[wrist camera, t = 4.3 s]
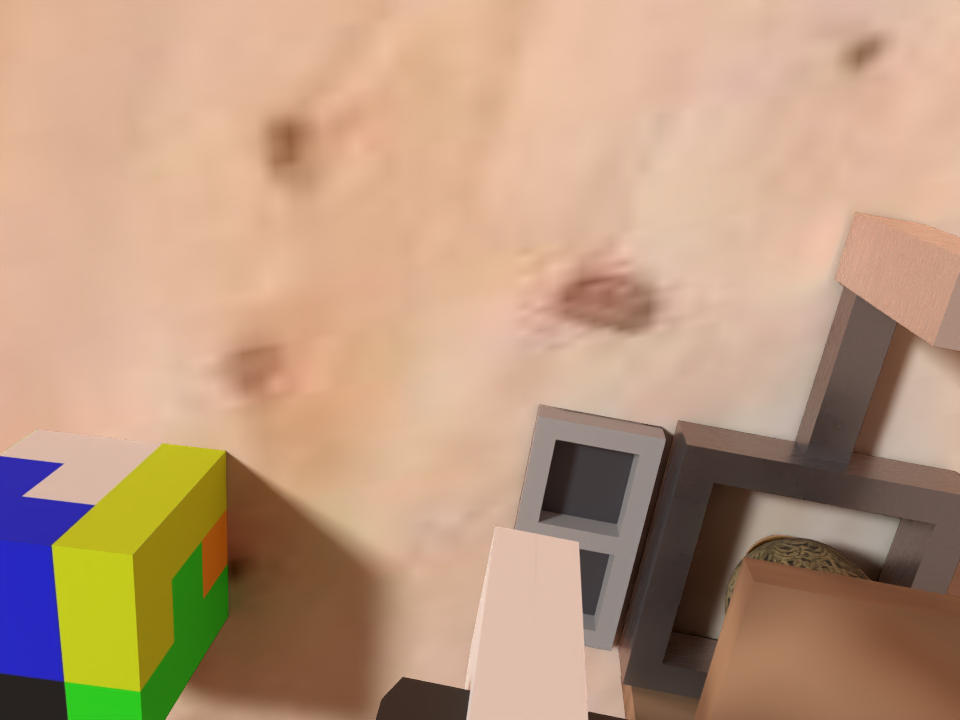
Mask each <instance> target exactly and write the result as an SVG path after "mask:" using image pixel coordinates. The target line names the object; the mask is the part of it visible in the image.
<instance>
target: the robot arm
mask: <svg viewBox="0 0 960 720" xmlns="http://www.w3.org/2000/svg"><path fill="white" fill-rule="evenodd" d="M376 720H628V719H622V718H617V717H612V716H607V715H602V714H597V713H592V712H588V707H587V688H586V668H585V649H584V630H583V611H582V592H581V573H580V554H579V542H576V541H571V540H566V539H561V538H556V537H551V536H546V535H540V534H535V533H530V532H525V531H520V530H515V529H510V528H504V527H499V526H495V529H494V534H493V539H492V544H491V549H490V555H489V560H488V565H487V570H486V575H485V580H484V585H483V590H482V595H481V600H480V605H479V610H478V615H477V620H476V625H475V630H474V635H473V640H472V645H471V650H470V656H469V662H468V669H467V676H466V683H465V689H460V688H455V687H450V686H445V685H440V684H435V683H430V682H425V681H420V680H415V679H410V678H405V677H402V678H401V679H400V680H399V682H398V683H397V684H396V685H395V686H394V687H393V688H392V689H391V690H390V691H389V692H388V693H387V694H386V695H385V696H384V697H383V699H382V700H381V703H380V707H379V710H378V714H377V717H376Z"/></svg>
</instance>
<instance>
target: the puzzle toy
mask: <svg viewBox="0 0 960 720" xmlns="http://www.w3.org/2000/svg"><path fill="white" fill-rule="evenodd" d="M227 618H228V549H227V483H226V451H223V450H214V449H205V448H197V447H188V446H179V445H171V444H162V443H153V442H144V441H136V440H127V439H118V438H110V437H101V436H92V435H83V434H75V433H66V432H57V431H49V430H40V429H37V430H35V431H34V432H32V433H31V434H29V435H28V436H26V437H25V438H23V439H22V440H20V441H19V442H17V443H16V444H14V445H13V446H11V447H10V448H8V449H7V450H5V451H4V452H2V453H1V454H0V720H165V719H166V717H167V716H168V714H169V712H170V711H171V709H172V707H173V706H174V704H175V703H176V701H177V699H178V698H179V696H180V694H181V693H182V691H183V690H184V688H185V686H186V685H187V683H188V681H189V680H190V678H191V676H192V675H193V673H194V672H195V670H196V668H197V667H198V665H199V663H200V662H201V660H202V659H203V657H204V655H205V654H206V652H207V650H208V649H209V647H210V645H211V644H212V642H213V641H214V639H215V637H216V636H217V634H218V632H219V631H220V629H221V628H222V626H223V624H224V623H225V621H226V619H227Z"/></svg>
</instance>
